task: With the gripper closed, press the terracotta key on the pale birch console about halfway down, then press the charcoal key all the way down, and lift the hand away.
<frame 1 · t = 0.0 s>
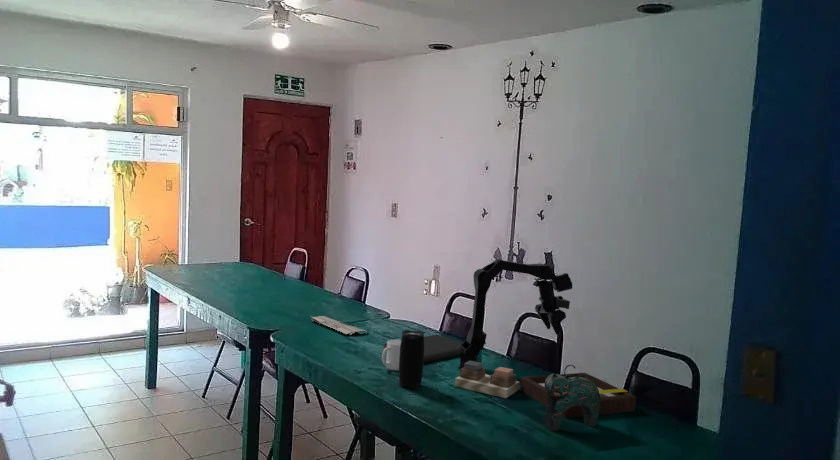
hand: (553, 331, 263), 15 cm above the table, tool pointing down, fingers open, 9 cm apart
portable speaker: (409, 386, 232), on the table
key console: (486, 388, 234), on the table
cup: (392, 369, 252), on the table
beige notched slab: (336, 329, 314), on the table
ceramic cat: (569, 427, 201), on the table
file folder: (429, 353, 279), on the table
terracotta key: (503, 373, 231), point 7 cm above the table, slide at 0.0 cm
charcoal key: (473, 367, 237), point 6 cm above the table, slide at 0.0 cm
brown wooden tray: (574, 402, 226), on the table
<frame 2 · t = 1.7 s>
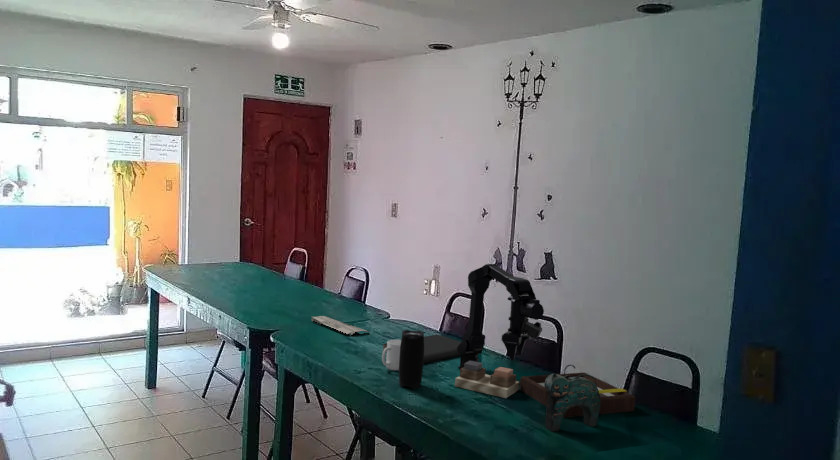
hand: (516, 357, 232), 12 cm above the table, tool pointing down, fingers open, 9 cm apart
nothing on the table moved.
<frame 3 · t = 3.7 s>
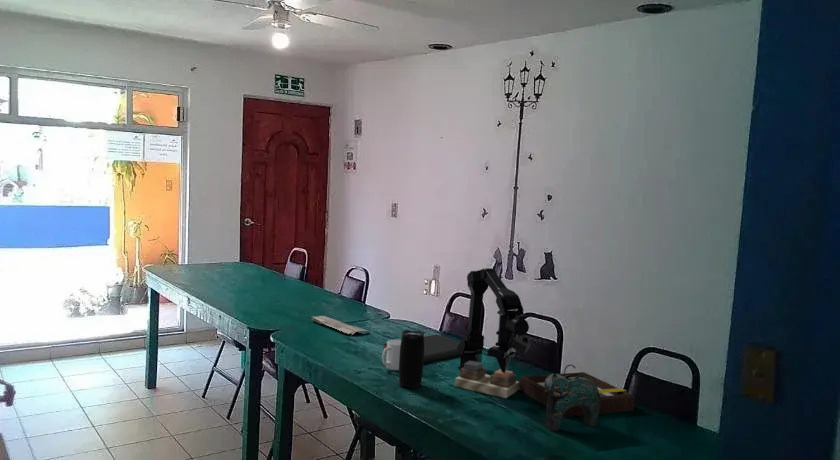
hand: (503, 371, 231), 7 cm above the table, tool pointing down, fingers closed, pressing on terracotta key
terracotta key: (503, 376, 231), point 6 cm above the table, slide at 0.8 cm, touching gripper
everything else where it was.
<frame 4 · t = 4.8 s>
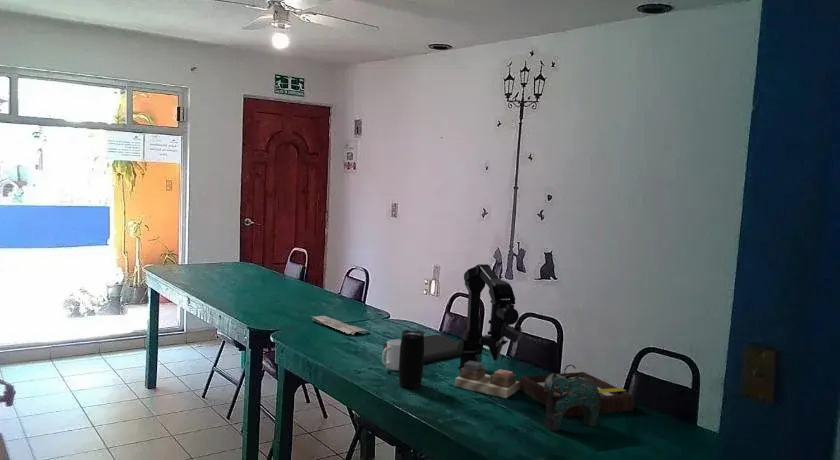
hand: (495, 360, 232), 11 cm above the table, tool pointing down, fingers closed
terracotta key: (503, 376, 231), point 6 cm above the table, slide at 0.9 cm
everything else where it was.
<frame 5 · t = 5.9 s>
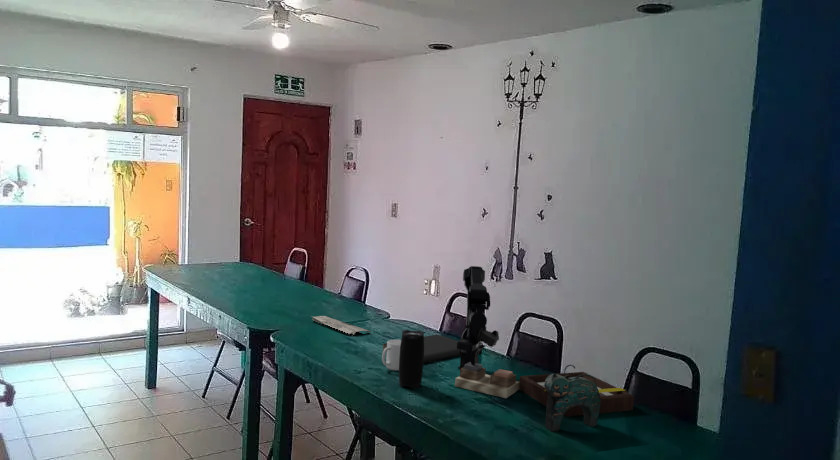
hand: (473, 364, 237), 7 cm above the table, tool pointing down, fingers closed, pressing on charcoal key
charcoal key: (473, 368, 237), point 6 cm above the table, slide at 0.6 cm, touching gripper
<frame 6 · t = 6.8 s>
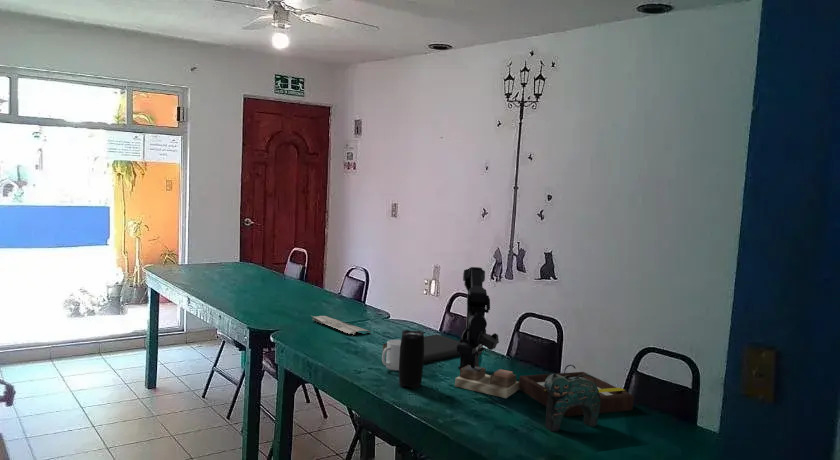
hand: (473, 367, 237), 6 cm above the table, tool pointing down, fingers closed
charcoal key: (472, 372, 237), point 5 cm above the table, slide at 1.9 cm
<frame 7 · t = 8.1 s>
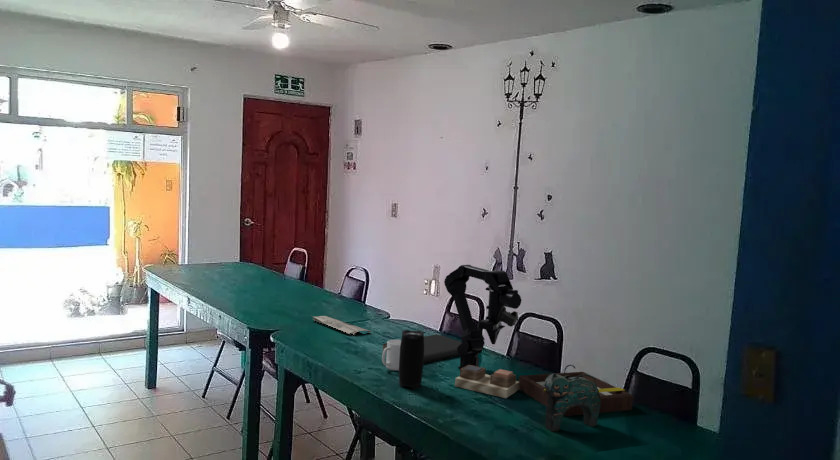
hand: (493, 344, 246), 13 cm above the table, tool pointing down, fingers closed
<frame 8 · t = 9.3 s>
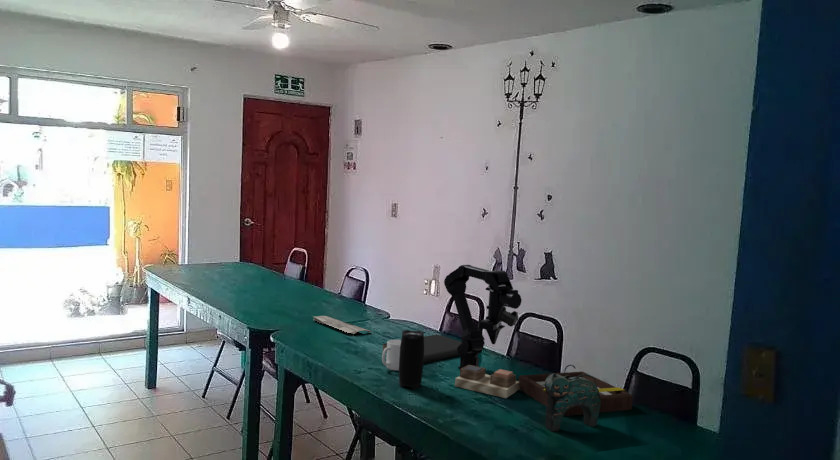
hand: (493, 344, 246), 13 cm above the table, tool pointing down, fingers closed
at the end: terracotta key slide at 0.9 cm; charcoal key slide at 1.9 cm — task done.
